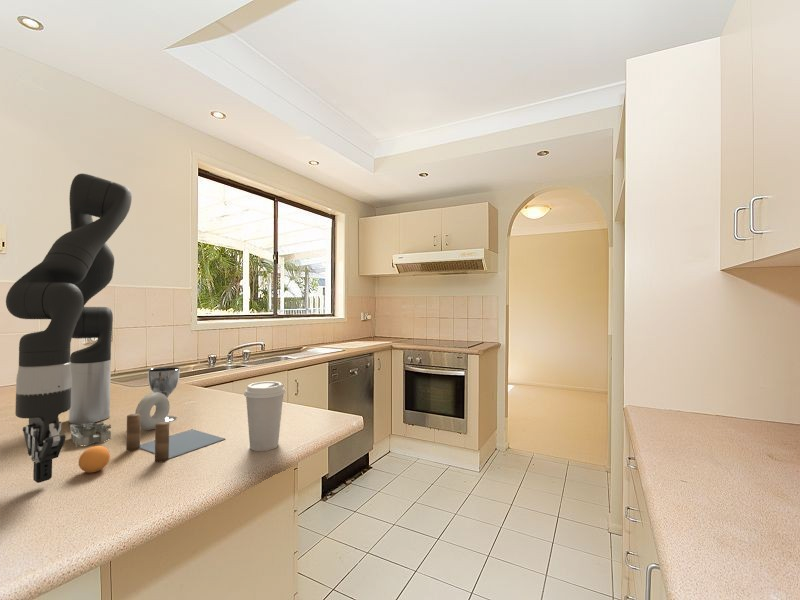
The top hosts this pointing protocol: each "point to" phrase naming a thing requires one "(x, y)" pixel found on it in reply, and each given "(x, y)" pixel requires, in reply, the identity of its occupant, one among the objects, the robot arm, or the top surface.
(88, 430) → the egg carton
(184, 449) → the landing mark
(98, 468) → the ball
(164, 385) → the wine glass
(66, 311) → the robot arm
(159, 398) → the donut
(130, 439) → the post
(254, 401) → the coffee cup
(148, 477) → the top surface
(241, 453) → the top surface
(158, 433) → the post
